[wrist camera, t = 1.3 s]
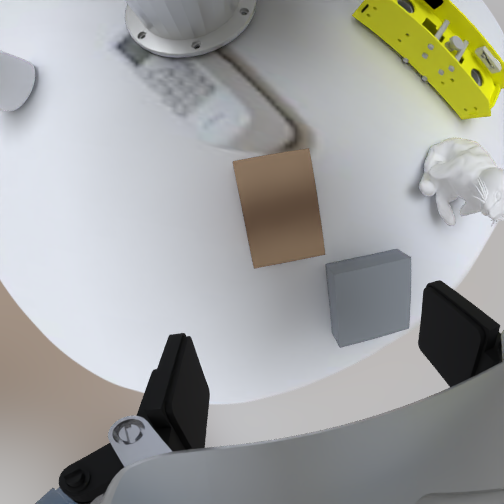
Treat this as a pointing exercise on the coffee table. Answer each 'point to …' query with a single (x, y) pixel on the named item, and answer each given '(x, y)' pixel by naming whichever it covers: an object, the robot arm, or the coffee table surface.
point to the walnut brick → (280, 207)
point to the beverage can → (14, 81)
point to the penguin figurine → (463, 179)
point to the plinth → (369, 296)
